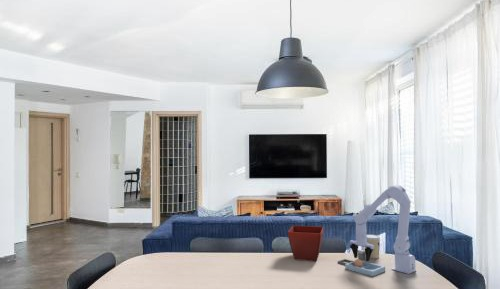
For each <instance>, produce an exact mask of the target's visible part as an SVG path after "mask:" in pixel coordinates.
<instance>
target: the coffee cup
mask: <svg viewBox="0 0 500 289" xmlns="http://www.w3.org/2000/svg"><path fill="white" fill-rule="evenodd" d="M380 242H381V238H380V236H379V235H378V234H377V235H376V234H367V243H369V244H372V245H374V249H373V251H372V253H371V256H370V259H379V257H380V246H381V244H380ZM363 248H364V249H365V248H366V247H363ZM365 256H366V253H365Z"/></svg>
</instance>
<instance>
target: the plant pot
mask: <svg viewBox="0 0 500 289" xmlns="http://www.w3.org/2000/svg"><path fill="white" fill-rule="evenodd" d="M323 235H324V226H311V225H292V226H291V227H290V229H288V230H287V236H288V241H289V242H288V243H289V246H290V249H291V252H292V253H291V254H292V256H293V259H294V260H296V261H312V262H317V261H318V258H319V255H320V252H321V248H322V244H323V243H322V242H323V237H324V236H323Z"/></svg>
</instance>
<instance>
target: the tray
mask: <svg viewBox="0 0 500 289" xmlns="http://www.w3.org/2000/svg"><path fill="white" fill-rule="evenodd" d="M352 261H353V262H346V263H347V264H345V265H344V267H345V270H348V271H353V272H354V273H359V274H363V275H365V276H368V277H369V276H370V277H375V276H377V275H380V274H382V273H385V272H386V266H384V265H380V264H377V263H372V262H369V261H366V262H365V261H362V262H363V266H362V267H361V268H360V267H357V266H355V265H354V261H355V260H352Z"/></svg>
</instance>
